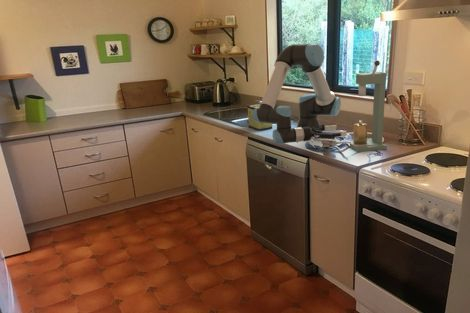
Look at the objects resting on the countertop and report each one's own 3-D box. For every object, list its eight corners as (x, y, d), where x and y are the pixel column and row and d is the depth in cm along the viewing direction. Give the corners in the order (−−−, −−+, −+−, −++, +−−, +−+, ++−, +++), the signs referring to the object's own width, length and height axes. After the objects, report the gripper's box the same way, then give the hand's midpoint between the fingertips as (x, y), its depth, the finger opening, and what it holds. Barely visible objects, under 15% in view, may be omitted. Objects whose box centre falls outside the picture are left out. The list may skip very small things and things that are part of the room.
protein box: (260, 131, 249) (259, 108, 244) (248, 127, 262) (247, 105, 257) (273, 128, 253) (272, 106, 249) (260, 124, 267) (259, 103, 262)
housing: (351, 141, 203) (351, 120, 199) (363, 140, 204) (363, 119, 200) (356, 145, 196) (357, 123, 193) (369, 143, 197) (369, 121, 194)
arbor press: (345, 144, 208) (347, 60, 194) (372, 141, 210) (376, 58, 195) (357, 152, 193) (360, 62, 179) (386, 149, 194) (392, 59, 180)
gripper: (295, 135, 208) (332, 131, 210) (309, 147, 184) (350, 143, 186) (295, 122, 206) (332, 118, 208) (309, 133, 182) (351, 128, 184)
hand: (341, 130), depth 197 cm, fingers open, 13 cm apart
